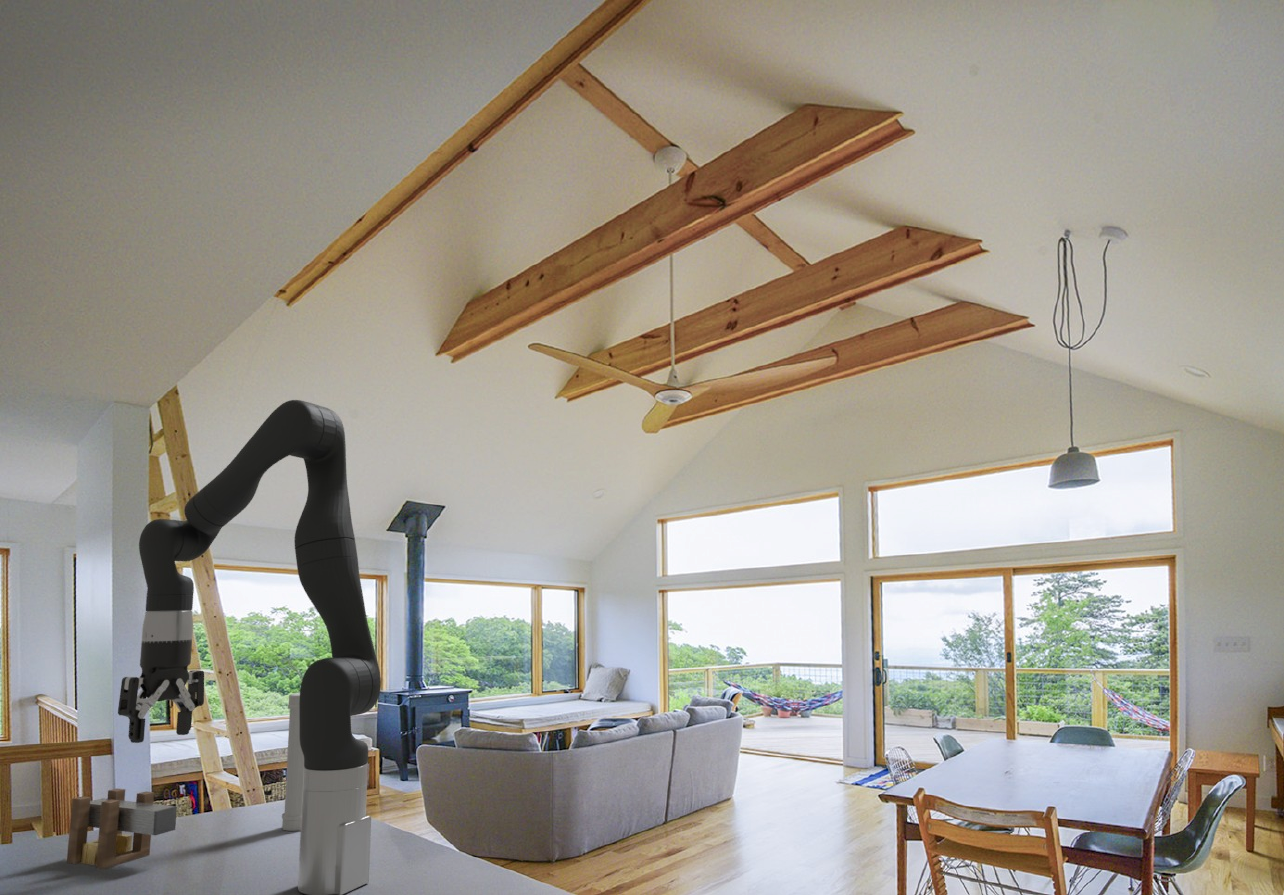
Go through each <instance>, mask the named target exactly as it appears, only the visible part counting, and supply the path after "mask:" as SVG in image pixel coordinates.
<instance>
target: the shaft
mask: <svg viewBox="0 0 1284 895" xmlns="http://www.w3.org/2000/svg"><path fill="white" fill-rule="evenodd" d="M107 800H114V799H108V798H104V797H103V798H97V799H93V800H90V809H89V820H88V828H95V829H96V828H97V829H99V826H100V814H101V803H102V802H103V801H107ZM119 801H120V805H119V817H118V829H117V830H118V831H122V832H125V833H133V834H134V833H141V834H148V835H151V836H159V835H162V834H166V833H168V832H173V831H176V825H177V824H176V822H177V812H178V811H177V810H178V806H177V805H176V806H175V805H169V804H168V805H166V804H157V803H153V804H150V803H141V802H136V801H130V800H125V801H123V800H119Z"/></svg>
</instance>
